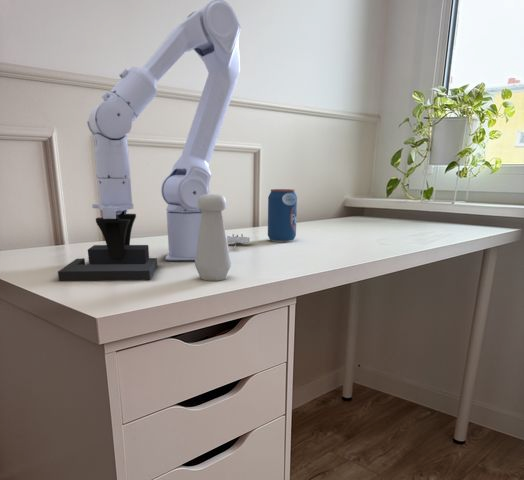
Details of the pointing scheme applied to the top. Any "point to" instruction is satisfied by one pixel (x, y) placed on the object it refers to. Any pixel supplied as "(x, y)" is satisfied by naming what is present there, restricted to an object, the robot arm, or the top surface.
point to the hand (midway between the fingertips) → (120, 255)
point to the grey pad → (131, 256)
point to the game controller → (237, 239)
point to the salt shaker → (212, 239)
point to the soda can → (282, 215)
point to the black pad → (107, 271)
